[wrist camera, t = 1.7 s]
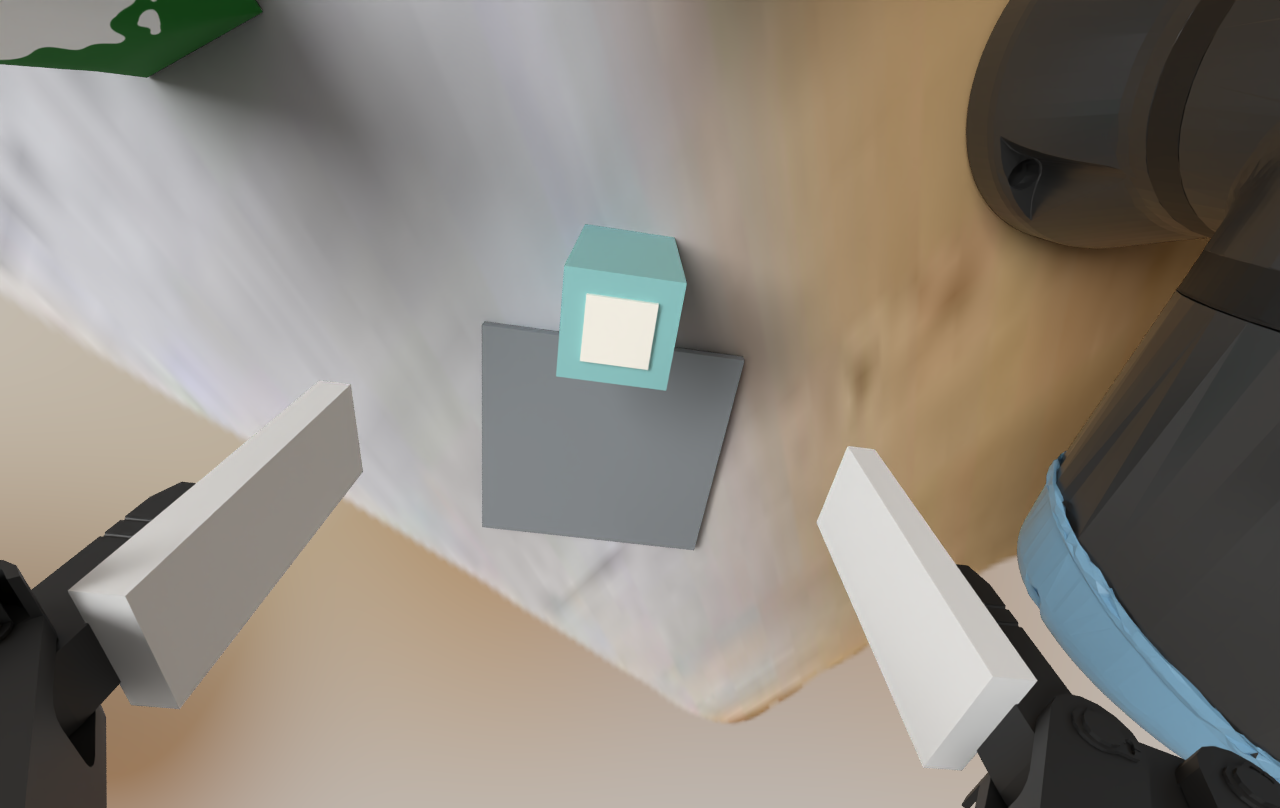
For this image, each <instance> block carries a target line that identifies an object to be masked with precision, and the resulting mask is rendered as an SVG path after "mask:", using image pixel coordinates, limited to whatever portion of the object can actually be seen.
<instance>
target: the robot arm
mask: <svg viewBox="0 0 1280 808" xmlns="http://www.w3.org/2000/svg"><path fill="white" fill-rule="evenodd" d="M966 136H967V150H968V157H969V162H970V167H971V170H972V174H973V177H974V180H975V182H976V185H977V187H978V189H979V191H980V193H981V195H982V196H983V198H984V199H985V201H986V202H987V204H988V205H989V206H990V207H991V209H992V210H993V211H994V212H995V213H996V214H997V215H998V216H999V217H1000V218H1001V219H1003V220H1004V221H1005V222H1006V223H1008V224H1009V225H1011V226H1012V227H1014V228H1016V229H1018V230H1020V231H1022V232H1024V233H1027V234H1029V235H1032V236H1036V237H1039V238H1042V239H1045V240H1049V241H1052V242H1055V243H1059V244H1062V245H1067V246H1072V247H1081V248H1115V247H1124V246H1133V245H1142V244H1151V243H1161V242H1170V241H1179V240H1188V239H1197V238H1207V237H1209V238H1211V239H1210V241H1209V242H1208V244H1207V245H1206V247H1205V248H1204V250H1203V252H1202V253H1201V255H1200V256H1199V258H1198V259H1197V261H1196V262H1195V264H1194V265H1193V267H1192V268H1191V270H1190V271H1189V273H1188V274H1187V276H1186V277H1185V279H1184V280H1183V282H1182V283H1181V285H1180V286H1179V287H1178V288H1177V290H1176V291H1175V293H1174V294H1173V295H1172V297H1171V298H1170V300H1169V301H1168V303H1167V304H1166V306H1165V307H1164V309H1163V310H1162V312H1161V313H1160V315H1159V316H1158V318H1157V319H1156V320H1155V322H1154V323H1153V325H1152V326H1151V328H1150V329H1149V331H1148V332H1147V334H1146V335H1145V337H1144V338H1143V340H1142V341H1141V343H1140V344H1139V346H1138V347H1137V348H1136V350H1135V351H1134V353H1133V354H1132V356H1131V357H1130V359H1129V360H1128V362H1127V363H1126V365H1125V366H1124V368H1123V369H1122V371H1121V372H1120V373H1119V375H1118V376H1117V378H1116V379H1115V381H1114V382H1113V384H1112V385H1111V387H1110V388H1109V390H1108V391H1107V393H1106V394H1105V396H1104V397H1103V398H1102V400H1101V401H1100V403H1099V404H1098V406H1097V407H1096V409H1095V410H1094V412H1093V413H1092V415H1091V416H1090V418H1089V419H1088V421H1087V422H1086V424H1085V425H1084V426H1083V428H1082V429H1081V431H1080V432H1079V434H1078V435H1077V437H1076V438H1075V440H1074V441H1073V443H1072V444H1071V446H1070V447H1069V449H1068V450H1067V451H1065V452H1063V453H1062V454H1061V455H1060V456H1059V457H1058V459H1056V460H1054V461H1053V463H1052V464H1051V465H1050V467H1049V470H1048V473H1047V478H1046V485H1045V486H1044V488H1043V490H1042V491H1041V493H1040V495H1039V496H1038V498H1037V500H1036V502H1035V503H1034V505H1033V507H1032V508H1031V510H1030V512H1029V514H1028V515H1027V517H1026V519H1025V520H1024V522H1023V525H1022V527H1021V530H1020V532H1019V536H1018V542H1017V558H1018V565H1019V569H1020V573H1021V577H1022V580H1023V582H1024V584H1025V586H1026V589H1027V591H1028V594H1029V596H1030V597H1031V598H1032V600H1033V601H1034V602H1035V604H1036V605H1037V606H1038V608H1039V609H1040V615H1041V618H1042V620H1043V622H1044V623H1045V625H1046V626H1047V628H1048V629H1049V631H1050V632H1051V634H1052V635H1053V636H1054V638H1055V639H1056V641H1057V642H1058V643H1059V644H1060V646H1061V647H1062V648H1063V650H1064V651H1065V652H1066V653H1067V654H1068V656H1069V657H1070V658H1071V659H1072V661H1073V662H1074V663H1075V664H1076V665H1077V666H1078V667H1079V669H1080V670H1081V671H1082V672H1083V673H1084V674H1085V675H1086V676H1087V677H1088V678H1089V679H1090V680H1091V681H1092V683H1093V684H1094V685H1095V686H1096V687H1098V689H1100V691H1101V692H1103V694H1104V695H1106V696H1107V697H1108V698H1109V699H1110V700H1111V701H1112V702H1113V703H1114V704H1115V705H1116V706H1118V707H1119V708H1120V709H1121V710H1122V711H1123V712H1124V713H1125V714H1126V715H1128V716H1129V717H1130V718H1131V719H1132V720H1133V721H1135V722H1136V723H1137V724H1138V725H1139V726H1140V727H1142V728H1143V729H1144V730H1145V731H1147V732H1148V733H1149V734H1150V735H1152V736H1153V737H1154V738H1155V739H1157V740H1158V741H1159V742H1161V743H1162V744H1163V745H1165V746H1166V747H1167V748H1169V749H1170V750H1172V751H1173V752H1174V753H1176V754H1177V755H1179V756H1180V757H1181V758H1179V757H1177V756H1174V755H1171V754H1169V753H1166V752H1163V751H1161V750H1158V749H1155V748H1153V747H1150V746H1147V745H1145V744H1142V743H1139V742H1138V741H1137V739H1136V738H1135V736H1134V735H1133V733H1132V732H1131V731H1130V730H1129V729H1128V728H1127V727H1126V726H1125V725H1124V724H1123V723H1121V722H1120V721H1119V720H1118V719H1117V718H1116V717H1115V716H1114V715H1112V714H1111V713H1109V712H1108V711H1106V710H1105V709H1104V708H1102V707H1101V706H1099V705H1098V704H1095V703H1093V702H1091V701H1089V700H1087V699H1084V698H1083V697H1080V696H1075V695H1072V694H1071V693H1070V691H1069V690H1068V689H1067V687H1066V686H1065V685H1064V683H1063V682H1062V681H1061V679H1060V678H1059V677H1058V675H1057V674H1056V673H1055V671H1054V670H1053V669H1052V667H1051V666H1050V665H1049V663H1048V662H1047V661H1046V659H1045V658H1044V657H1043V655H1042V654H1041V652H1040V651H1039V650H1038V649H1037V647H1036V646H1035V645H1034V643H1033V642H1032V640H1031V639H1030V638H1029V636H1028V635H1027V634H1026V632H1025V631H1024V630H1023V628H1021V627H1019V626H1018V622H1017V620H1016V619H1015V618H1014V616H1013V615H1012V614H1011V612H1010V611H1009V610H1006V609H1005V604H1004V603H1003V602H1002V600H1001V599H1000V598H999V596H998V595H997V594H996V592H995V591H994V590H993V588H992V587H991V586H990V584H989V583H987V582H986V581H985V580H984V579H983V578H981V577H980V576H979V575H978V574H977V573H976V572H975V571H973V570H972V569H971V568H970V567H969V566H966V565H957V564H955V563H954V561H953V560H952V558H951V557H950V556H949V554H948V553H947V551H946V550H945V548H944V547H943V546H942V544H941V543H940V541H939V540H938V539H937V537H936V536H935V534H934V533H933V531H932V530H931V529H930V527H929V526H928V524H927V523H926V521H925V520H924V519H923V517H922V516H921V514H920V513H919V512H918V510H917V509H916V507H915V506H914V504H913V503H912V502H911V500H910V499H909V497H908V496H907V494H906V493H905V492H904V490H903V489H902V487H901V486H900V485H899V483H898V482H897V480H896V479H895V477H894V476H893V475H892V473H891V472H890V470H889V469H888V467H887V466H886V465H885V463H884V462H883V460H882V459H881V458H880V456H879V455H878V453H877V452H876V450H875V449H868V448H860V447H852V446H848V447H847V449H846V452H845V454H844V457H843V459H842V462H841V464H840V466H839V469H838V471H837V474H836V476H835V479H834V481H833V484H832V486H831V489H830V491H829V493H828V496H827V498H826V501H825V503H824V506H823V508H822V511H821V513H820V516H819V518H818V520H817V525H818V527H819V529H820V532H821V534H822V536H823V538H824V541H825V543H826V545H827V548H828V550H829V552H830V555H831V557H832V559H833V561H834V564H835V566H836V568H837V571H838V573H839V575H840V577H841V580H842V582H843V584H844V587H845V589H846V591H847V594H848V596H849V598H850V600H851V603H852V605H853V607H854V610H855V612H856V614H857V617H858V619H859V621H860V623H861V626H862V628H863V630H864V633H865V635H866V637H867V640H868V642H869V644H870V646H871V649H872V651H873V653H874V656H875V658H876V660H877V663H878V665H879V667H880V669H881V672H882V674H883V676H884V679H885V680H886V683H887V686H888V688H889V690H890V692H891V695H892V697H893V699H894V702H895V704H896V706H897V709H898V711H899V713H900V715H901V718H902V720H903V722H904V724H905V727H906V729H907V731H908V734H909V736H910V738H911V741H912V743H913V745H914V747H915V750H916V752H917V755H918V757H919V759H920V761H921V764H922V766H923V767H924V768H936V769H937V768H938V769H949V770H963V769H964V767H965V766H966V765H967V764H968V763H969V762H970V760H971V759H972V758H973V757H974V756H975V755H976V753H977V752H978V754H979V756H980V758H981V760H982V762H983V764H984V765H985V767H986V769H987V771H988V773H987V774H986V775H985V777H984V778H983V779H982V780H981V781H980V782H979V783H978V784H977V785H976V787H975V788H974V789H973V790H972V791H971V792H970V793H969V794H968V795H967V797H966V798H965V800H964V802H963V803H962V806H963V807H965V808H970V807H971V806H972V805H973V804H974V802H976V806H975V808H1280V0H1010V1H1009V2H1008V4H1007V6H1006V7H1005V9H1004V11H1003V12H1002V14H1001V16H1000V18H999V20H998V21H997V23H996V25H995V27H994V29H993V31H992V33H991V35H990V37H989V39H988V42H987V44H986V46H985V49H984V51H983V54H982V56H981V59H980V62H979V65H978V67H977V71H976V74H975V78H974V81H973V85H972V89H971V94H970V99H969V105H968V113H967V130H966ZM362 472H363V469H362V462H361V455H360V448H359V440H358V433H357V426H356V419H355V412H354V405H353V397H352V390H351V384H343V383H335V382H327V381H318V382H317V383H316V384H315V385H313V386H312V387H311V388H310V389H309V390H308V391H306V392H305V393H304V394H303V395H302V396H300V397H299V398H298V399H297V400H296V401H294V402H293V403H292V404H291V405H290V406H288V407H287V408H286V409H285V410H284V411H282V412H281V413H280V414H279V415H278V416H276V417H275V418H274V419H273V420H272V421H270V422H269V423H268V424H267V425H266V426H264V427H263V428H262V429H261V430H260V431H258V432H257V433H256V434H255V435H254V436H252V437H251V438H250V439H249V440H248V441H246V442H245V443H244V444H243V445H242V446H241V447H239V448H238V449H237V450H236V451H234V452H233V453H232V454H231V455H230V456H228V457H227V458H226V459H225V460H224V461H222V462H221V463H220V464H219V465H218V466H216V467H215V468H214V469H213V470H212V471H211V472H209V473H208V474H207V475H206V476H204V477H203V478H202V479H201V480H200V481H198V482H197V483H188V482H181V483H178V484H176V485H174V486H172V487H170V488H168V489H166V490H164V491H161V492H159V493H157V494H155V495H153V496H151V497H150V498H148V499H147V500H145V501H144V502H143V503H142V504H140V505H139V506H138V507H137V508H135V509H134V510H133V511H131V512H130V513H129V514H128V515H126V516H125V517H126V518H125V520H120V521H119V522H117V523H116V524H115V525H114V526H112V527H111V528H110V529H108V530H107V531H106V532H105V535H104V536H103V537H101V536H100V537H98V538H97V539H96V540H94V541H93V542H92V543H91V544H89V545H88V546H87V547H86V548H84V549H83V550H82V551H80V552H79V553H78V554H77V555H75V556H74V557H73V558H71V559H70V560H69V561H68V562H66V563H65V564H64V565H62V566H61V567H60V568H59V569H57V570H56V571H55V572H54V573H52V574H51V575H50V576H49V577H47V578H46V579H45V580H43V581H42V582H41V583H40V584H38V585H37V586H36V587H34V588H33V589H32V590H31V589H30V587H29V586H28V584H27V583H26V581H25V579H24V578H23V576H22V574H21V572H20V571H19V569H18V568H17V566H16V565H13V564H11V563H9V562H6V561H4V560H0V808H106V807H107V806H106V805H107V803H106V716H105V713H104V711H103V708H102V706H101V703H102V702H103V701H104V700H105V699H106V698H107V697H108V696H109V695H110V694H111V692H112V691H113V690H114V689H115V688H116V687H117V686H118V685H119V684H120V686H121V687H122V689H123V691H124V693H125V695H126V697H127V698H128V700H129V702H130V704H131V705H137V706H149V707H162V708H174V709H180V708H181V706H182V705H183V704H184V703H185V701H186V700H187V699H188V697H189V696H190V695H191V694H192V692H193V691H194V690H195V688H196V687H197V686H198V684H199V683H200V682H201V681H202V679H203V678H204V677H205V675H206V674H207V673H208V671H209V670H210V669H211V668H212V666H213V665H214V664H215V662H216V661H217V660H218V659H219V657H220V656H221V655H222V653H223V652H224V651H225V650H226V648H227V647H228V645H229V644H230V643H231V642H232V640H233V639H234V638H235V637H236V635H237V634H238V633H239V631H240V630H241V629H242V627H243V626H244V625H245V624H246V622H247V621H248V620H249V618H250V617H251V616H252V615H253V613H254V612H255V611H256V609H257V608H258V607H259V605H260V604H261V603H262V602H263V600H264V599H265V597H266V596H267V595H268V594H269V592H270V591H271V590H272V589H273V587H274V586H275V584H276V583H277V582H278V581H279V579H280V578H281V577H282V576H283V574H284V573H285V572H286V570H287V569H288V568H289V567H290V565H291V564H292V563H293V561H294V560H295V559H296V558H297V556H298V555H299V554H300V552H301V551H302V550H303V548H304V547H305V546H306V545H307V543H308V542H309V541H310V539H311V538H312V537H313V535H314V534H315V533H316V531H317V530H318V529H319V528H320V526H321V525H322V524H323V523H324V521H325V520H326V519H327V517H328V516H329V515H330V513H331V512H332V511H333V510H334V508H335V507H336V506H337V504H338V503H339V502H340V501H341V499H342V498H343V497H344V495H345V494H346V493H347V491H348V490H349V489H350V488H351V486H352V485H353V484H354V482H355V481H356V480H357V479H358V477H359V476H360V475H361V473H362ZM1182 758H1183V759H1182Z"/></svg>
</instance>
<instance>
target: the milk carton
mask: <svg viewBox="0 0 1280 808" xmlns="http://www.w3.org/2000/svg"><path fill="white" fill-rule="evenodd" d="M262 12H263V11H262V9H261V8H260V6H259V5H258V3H257V1H256V0H0V64H6V65H18V66H31V67H44V68H57V69H71V70H87V71H98V72H106V73H114V74H122V75H131V76H139V77H146V78H147V77H149V76H151V75H153V74H154V73H156V72H158V71H160V70H161V69H163V68H165V67H167V66H168V65H170V64H172V63H174V62H175V61H177V60H179V59H181V58H183V57H184V56H186V55H188V54H190V53H191V52H193V51H195V50H197V49H198V48H200V47H202V46H204V45H205V44H207V43H209V42H211V41H212V40H214V39H216V38H218V37H219V36H221V35H223V34H225V33H227V32H228V31H230V30H232V29H234V28H235V27H237V26H239V25H241V24H242V23H244V22H246V21H248V20H249V19H251V18H253V17H255V16H256V15H258V14H260V13H262Z"/></svg>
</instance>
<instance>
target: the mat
mask: <svg viewBox="0 0 1280 808" xmlns="http://www.w3.org/2000/svg"><path fill="white" fill-rule="evenodd" d="M558 344H559V332H558V331H551V330H544V329H536V328H529V327H522V326H514V325H507V324H499V323H492V322H484V323H483V324H482V527H487V528H496V529H505V530H514V531H524V532H533V533H542V534H551V535H560V536H569V537H578V538H587V539H597V540H606V541H615V542H624V543H633V544H642V545H651V546H660V547H670V548H679V549H688V550H694V549H695V545H696V541H697V537H698V533H699V530H700V526H701V522H702V518H703V515H704V511H705V507H706V503H707V500H708V496H709V492H710V488H711V485H712V481H713V477H714V473H715V470H716V466H717V462H718V458H719V455H720V451H721V447H722V443H723V440H724V436H725V432H726V428H727V424H728V421H729V417H730V413H731V409H732V406H733V402H734V398H735V394H736V391H737V387H738V383H739V379H740V376H741V372H742V368H743V364H744V358H743V357H742V356H734V355H727V354H720V353H712V352H705V351H698V350H690V349H683V348H676V347H674V352H673V358H672V363H671V368H670V373H669V379H668V384H667V389H666V391H664V390H657V389H649V388H641V387H634V386H626V385H618V384H611V383H603V382H595V381H588V380H580V379H572V378H565V377H557V376H556V371H557V357H558Z"/></svg>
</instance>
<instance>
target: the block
mask: <svg viewBox="0 0 1280 808" xmlns="http://www.w3.org/2000/svg"><path fill="white" fill-rule="evenodd" d="M686 285H687V282H686V279H685V275H684V271H683V267H682V264H681V260H680V256H679V253H678V249H677V245H676V241H675V238H674V237H667V236H660V235H654V234H647V233H640V232H634V231H627V230H621V229H614V228H607V227H601V226H594V225H587V224H585V226H584V228H583V230H582V232H581V234H580V236H579V238H578V240H577V242H576V244H575V246H574V248H573V250H572V251H571V253H570V255H569V257H568V259H567V261H566V263H565V265H564V277H563V290H562V304H561V317H560V330H559V344H558V357H557V371H556V376H557V377H565V378H572V379H580V380H588V381H595V382H603V383H611V384H618V385H626V386H634V387H641V388H649V389H657V390H664V391H666V389H667V384H668V379H669V373H670V368H671V363H672V358H673V352H674V347H675V342H676V337H677V332H678V326H679V321H680V316H681V311H682V306H683V300H684V295H685V290H686Z"/></svg>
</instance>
